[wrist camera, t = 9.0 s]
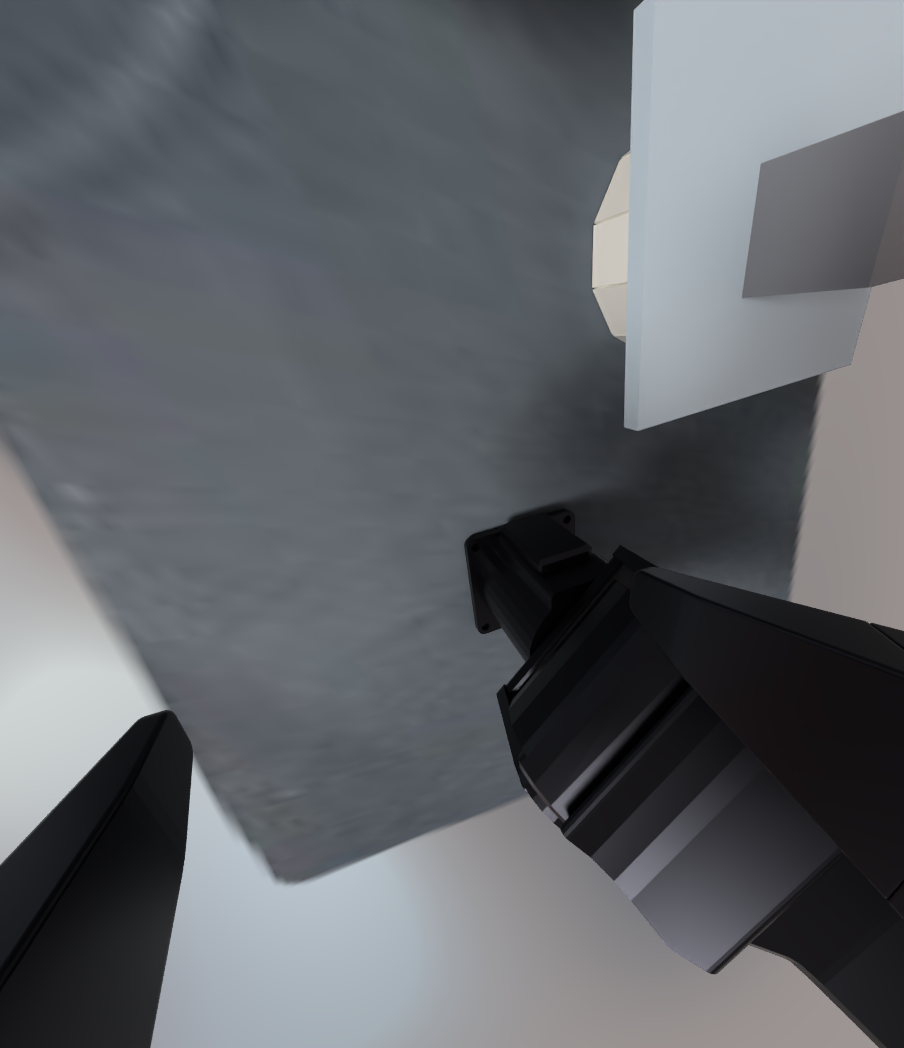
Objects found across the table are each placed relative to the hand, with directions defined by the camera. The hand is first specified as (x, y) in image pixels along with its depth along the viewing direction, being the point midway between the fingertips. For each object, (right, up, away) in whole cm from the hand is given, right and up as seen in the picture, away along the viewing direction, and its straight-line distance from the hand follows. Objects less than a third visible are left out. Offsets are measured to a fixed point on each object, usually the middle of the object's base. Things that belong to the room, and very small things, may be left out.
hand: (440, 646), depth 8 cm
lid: (+12, +13, +8) cm, 20 cm away
